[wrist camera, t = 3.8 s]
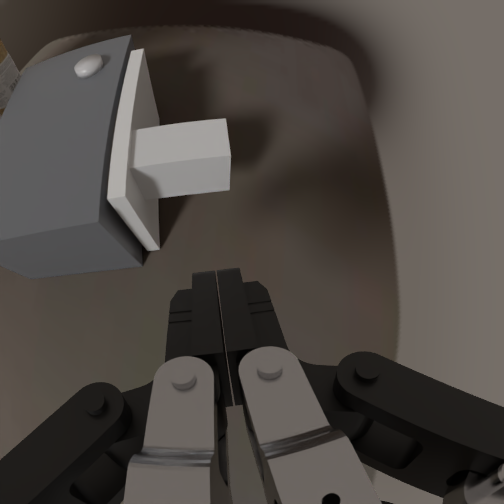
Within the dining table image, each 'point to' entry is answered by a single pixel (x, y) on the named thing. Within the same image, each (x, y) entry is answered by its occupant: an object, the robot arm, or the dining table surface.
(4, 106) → the sprinkles bottle
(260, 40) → the dining table surface
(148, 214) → the side cover
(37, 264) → the box
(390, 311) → the dining table surface
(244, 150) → the dining table surface
